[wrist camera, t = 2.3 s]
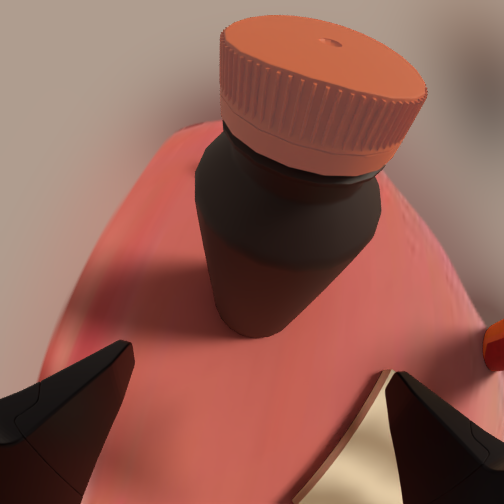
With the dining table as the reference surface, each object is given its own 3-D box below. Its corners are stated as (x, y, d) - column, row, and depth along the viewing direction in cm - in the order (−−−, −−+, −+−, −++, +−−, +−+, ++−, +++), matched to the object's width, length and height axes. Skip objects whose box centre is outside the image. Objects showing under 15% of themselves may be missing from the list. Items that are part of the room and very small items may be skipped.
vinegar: (311, 292, 23) (465, 86, 5) (263, 355, 21) (448, 219, 3) (250, 246, 25) (285, 1, 7) (198, 302, 22) (112, 49, 4)
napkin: (384, 528, 13) (391, 533, 11) (291, 499, 15) (295, 506, 14) (456, 416, 18) (465, 416, 17) (383, 370, 20) (391, 369, 19)
